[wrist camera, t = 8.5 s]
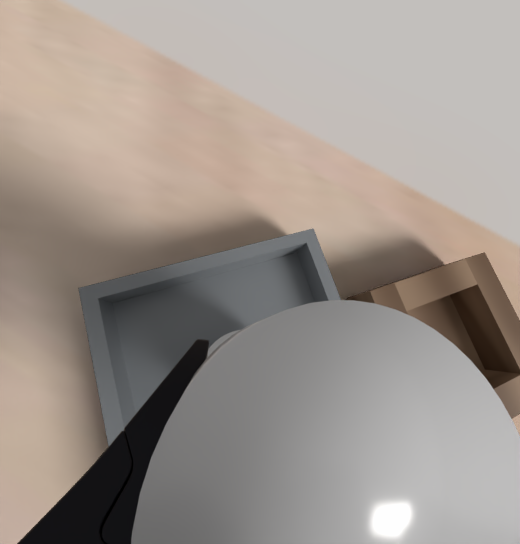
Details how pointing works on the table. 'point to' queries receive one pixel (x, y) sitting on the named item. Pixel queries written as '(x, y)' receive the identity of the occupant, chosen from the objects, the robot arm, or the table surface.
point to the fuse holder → (465, 317)
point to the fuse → (334, 439)
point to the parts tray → (191, 312)
